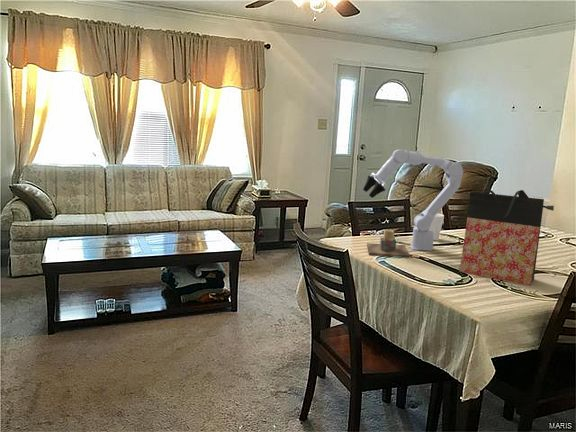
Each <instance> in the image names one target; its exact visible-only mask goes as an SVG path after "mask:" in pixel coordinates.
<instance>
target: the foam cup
mask: <svg viewBox="0 0 576 432" xmlns="http://www.w3.org/2000/svg"><path fill="white" fill-rule="evenodd" d="M444 219H445V215H444V214H441V213H437V214H436V215H435V217H434V220H433V221H432V223H431V225H430V228H429V231H433V233H434V240H436V241H439V239H440V234H441V230H442V226H443V223H444Z"/></svg>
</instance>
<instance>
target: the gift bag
mask: <svg viewBox="0 0 576 432" xmlns="http://www.w3.org/2000/svg"><path fill="white" fill-rule="evenodd" d="M468 200H469V201H468V210H467V219H466V225H465V233H464V239H463V246H462V252H461V259H460V266H459V273H464V274H469V275H473V276H474V275H475V276H480V277H484V278H489V279H495V280H500V281H505V282H509V283H510V282H511V283H514V284H521V285H525V286H530V287H531V285H532V284H533V282H534V280H535V275H536V274H535V273H536V265H537V256H538V250H539V241H540V235H541V226H542V221H543V220H542V219H543V213H544V208H545V209H546V210H549V211H554V210H555V208H554V207H555V205H544V204H545V203H544V202H545V199H544V198H538V197H537V198H536V197H529V196H528V195H527V194H526V192H525V191H524V190H523V189H521V190H517V191H516V192H515V193H514V195H506V194H497V193H495V192H494V191H493V190H491V189H490V188H487V189H486V191H485V192H478V191H470V192H469V199H468Z"/></svg>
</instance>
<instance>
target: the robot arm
mask: <svg viewBox="0 0 576 432" xmlns="http://www.w3.org/2000/svg"><path fill="white" fill-rule="evenodd" d="M403 163H404V164H408V165H416V166H420V165H421V164H427V165H433V166H438V167H439V168H440V169H443V171H444V174H445V175H446V179H447V184H446V185H445V186H444V188H442V190H441V191H440V192H439V193H438V194H437V196H435V199H433V201H432V202H431V203H430V204H429V205H428V206H427V207H426V209H425V210H423V211H421V213H420V214H417V215H415V217H414V218H413V224H414V227H413V230H412V242H411V244H409V246H410V248H411V250H413V251H414V250H415V251H431V252H432V251H433V249H434V241H433V240H434V233H433V231H429V228H430V225H431V223H432V221H433V220H434V217H435V215H436V214H439V212H440V211H441V209H443V207H444V206H445V205H446V204H447V202H448V201H449V200H450V199H451V198H452V197H453V195H455V193H456V192H457V191H458V189H459V188H460V187H461V185H462V184H461V183H462V178H463V175H464V169H463V167H462V165H461V164H460V163H459V162H454V161H452V160H448V159H445V158H441V157H440V158H439V157H432V156H424V155H423V153H421V152H419V150H415V151H412V150H408V149H396V150H394V151H392V154H391V156H390V157H389V159H387V160H386V162H385V163H384V164H383V165H382V166H381V167H380V169H379V170H378V171H377V172H376V173H374V172H372V173H371V174H370V175H367V178H366V183H364V186H363V189H362V190H363V191H364V192H365V193H367V192H369V191H370V190H371V189H372V190H371V191H370V193H369V194H368V196H369V197H370V198H371V199H372V198H375V197H376V196H377V195H378V194H380V193H382V192H386V188H387V187H388V186H389V185H388V184H387V181H388V180H389V179H390V177H391V176H392V175H393V174H394V173H395V171H396V170H397V169H398V167H399V166H400V165H401V164H403Z"/></svg>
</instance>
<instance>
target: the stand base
mask: <svg viewBox="0 0 576 432" xmlns="http://www.w3.org/2000/svg"><path fill="white" fill-rule="evenodd" d="M383 239H384V237H380V239H379V240H380V241H379V242H380V243H372V242H370V243H369V242H367V243H366V248H367V252H368V256H381V257H382V256H383V257H393V256H401V257H400V258H409V257H410V258H411V254H410V252H409V250H408V249H407V247H406V245H405V244H402V245H401V244H397V240H396V238H394V237H393V241H385V240H383Z"/></svg>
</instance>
